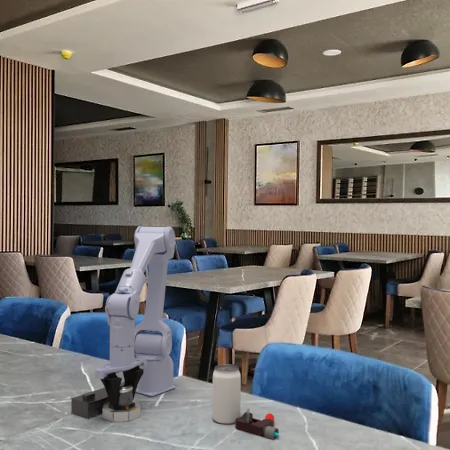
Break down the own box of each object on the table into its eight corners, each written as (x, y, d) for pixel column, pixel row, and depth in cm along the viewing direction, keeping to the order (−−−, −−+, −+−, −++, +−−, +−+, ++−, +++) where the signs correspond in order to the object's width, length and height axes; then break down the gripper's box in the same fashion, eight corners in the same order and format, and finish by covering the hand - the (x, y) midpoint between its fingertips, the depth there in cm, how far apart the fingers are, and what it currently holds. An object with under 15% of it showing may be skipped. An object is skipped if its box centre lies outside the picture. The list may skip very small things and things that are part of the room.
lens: (128, 406, 130) (127, 381, 130) (136, 411, 126) (136, 385, 126) (110, 410, 127) (109, 384, 127) (118, 415, 123) (117, 389, 123)
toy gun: (276, 444, 112) (276, 420, 112) (229, 430, 119) (229, 408, 119) (298, 429, 120) (298, 407, 120) (252, 417, 127) (252, 396, 127)
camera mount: (113, 398, 138) (113, 380, 138) (155, 411, 129) (155, 392, 129) (71, 412, 128) (71, 393, 128) (113, 428, 119) (113, 407, 119)
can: (224, 412, 129) (224, 362, 129) (245, 418, 125) (246, 367, 125) (206, 419, 124) (207, 368, 124) (228, 427, 120) (228, 373, 120)
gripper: (133, 336, 135) (132, 390, 135) (86, 347, 123) (86, 406, 123) (153, 340, 131) (152, 396, 131) (107, 352, 119) (106, 413, 119)
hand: (121, 402), depth 127 cm, fingers closed on lens, 4 cm apart
